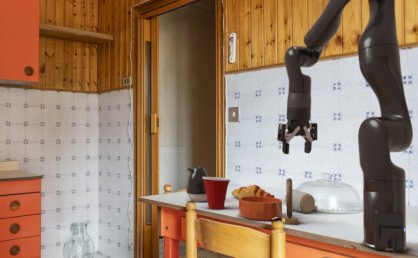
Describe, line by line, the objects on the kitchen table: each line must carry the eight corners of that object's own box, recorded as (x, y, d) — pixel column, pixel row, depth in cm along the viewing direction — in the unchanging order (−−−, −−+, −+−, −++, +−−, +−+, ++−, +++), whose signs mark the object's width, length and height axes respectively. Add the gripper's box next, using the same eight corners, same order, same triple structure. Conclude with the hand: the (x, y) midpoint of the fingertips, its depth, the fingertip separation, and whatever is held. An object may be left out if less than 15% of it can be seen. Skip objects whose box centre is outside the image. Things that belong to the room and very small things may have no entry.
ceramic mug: (301, 214, 142) (301, 192, 142) (284, 210, 150) (284, 189, 150) (323, 212, 146) (323, 191, 146) (305, 208, 154) (305, 188, 154)
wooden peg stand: (299, 225, 127) (298, 179, 127) (281, 224, 128) (281, 178, 128) (297, 221, 132) (297, 177, 132) (280, 220, 133) (280, 177, 133)
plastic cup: (236, 209, 153) (236, 177, 153) (212, 211, 149) (212, 179, 149) (220, 204, 163) (220, 175, 163) (197, 206, 159) (197, 176, 159)
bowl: (283, 222, 131) (283, 204, 131) (238, 219, 135) (238, 201, 135) (280, 213, 144) (280, 197, 144) (239, 211, 148) (239, 195, 148)
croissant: (228, 205, 180) (222, 190, 178) (239, 192, 186) (234, 177, 183) (271, 211, 164) (265, 194, 161) (282, 197, 169) (277, 181, 167)
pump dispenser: (181, 200, 174) (181, 165, 174) (201, 198, 179) (201, 164, 179) (194, 203, 165) (194, 166, 165) (215, 201, 169) (215, 165, 169)
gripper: (288, 106, 130) (285, 156, 132) (324, 106, 134) (322, 154, 136) (273, 105, 137) (272, 152, 139) (308, 105, 141) (306, 151, 143)
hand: (296, 153), depth 137 cm, fingers open, 8 cm apart
